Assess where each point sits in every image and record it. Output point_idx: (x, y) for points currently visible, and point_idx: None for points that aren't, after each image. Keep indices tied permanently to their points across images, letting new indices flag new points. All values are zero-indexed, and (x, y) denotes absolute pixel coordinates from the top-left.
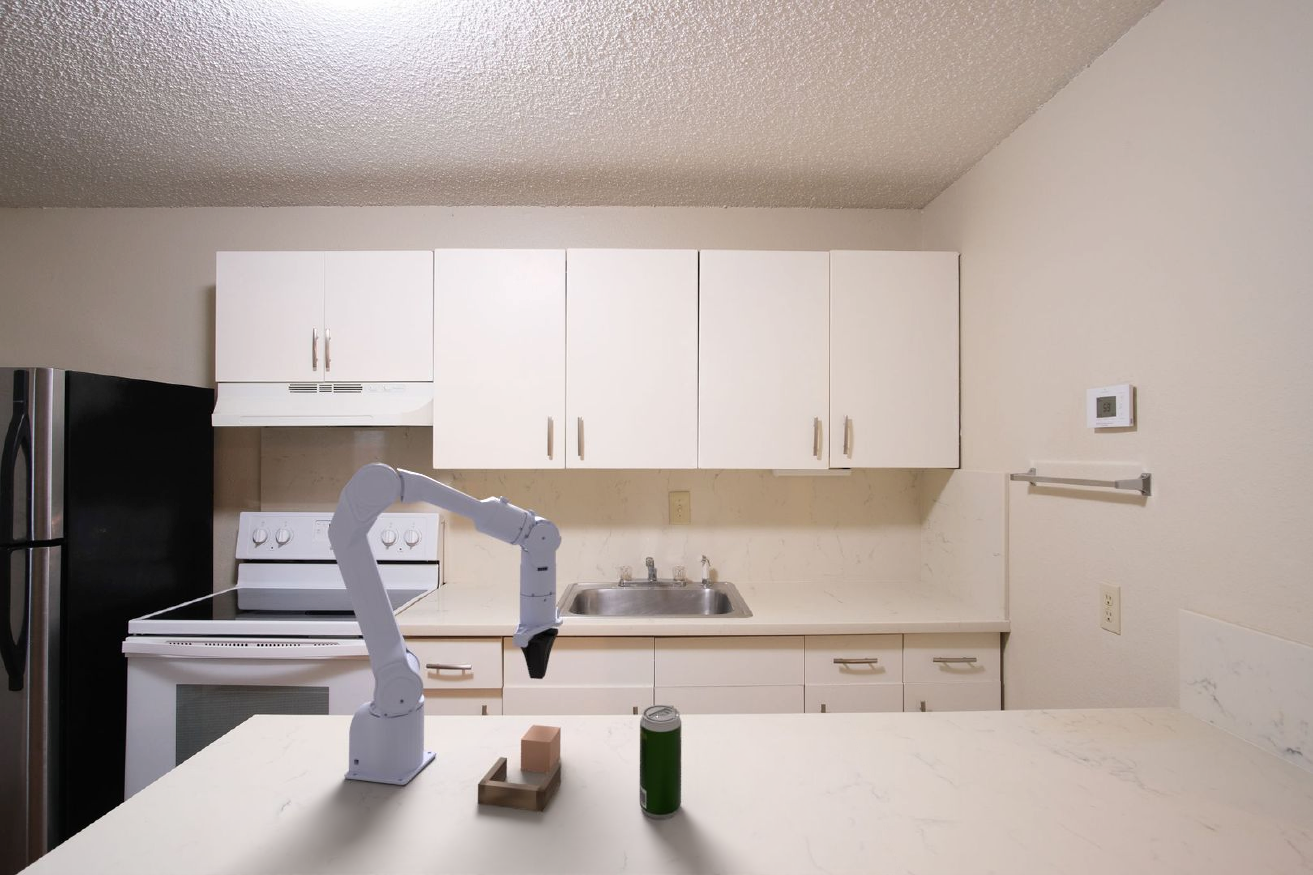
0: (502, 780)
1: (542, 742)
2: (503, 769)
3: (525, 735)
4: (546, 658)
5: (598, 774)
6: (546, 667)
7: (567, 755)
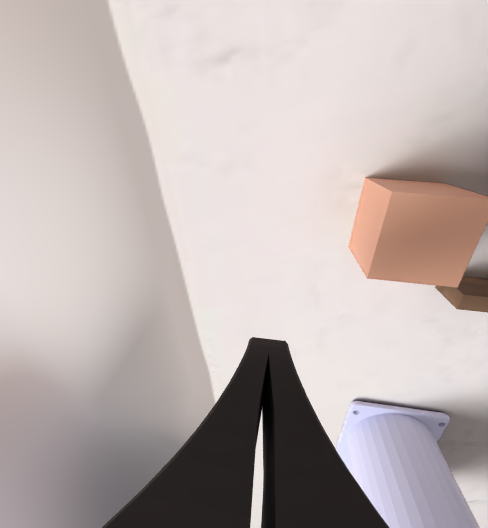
0: (463, 277)
1: (484, 224)
2: (472, 287)
3: (434, 281)
4: (279, 407)
5: (480, 28)
6: (255, 360)
7: (361, 159)
